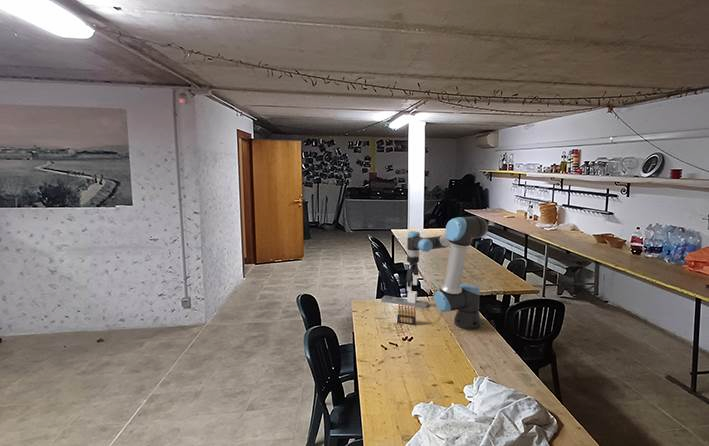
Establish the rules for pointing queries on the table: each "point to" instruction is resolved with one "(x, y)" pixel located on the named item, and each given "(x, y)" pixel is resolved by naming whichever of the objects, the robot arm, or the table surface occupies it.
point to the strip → (404, 301)
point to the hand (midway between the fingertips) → (412, 287)
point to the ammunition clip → (406, 315)
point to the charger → (412, 297)
